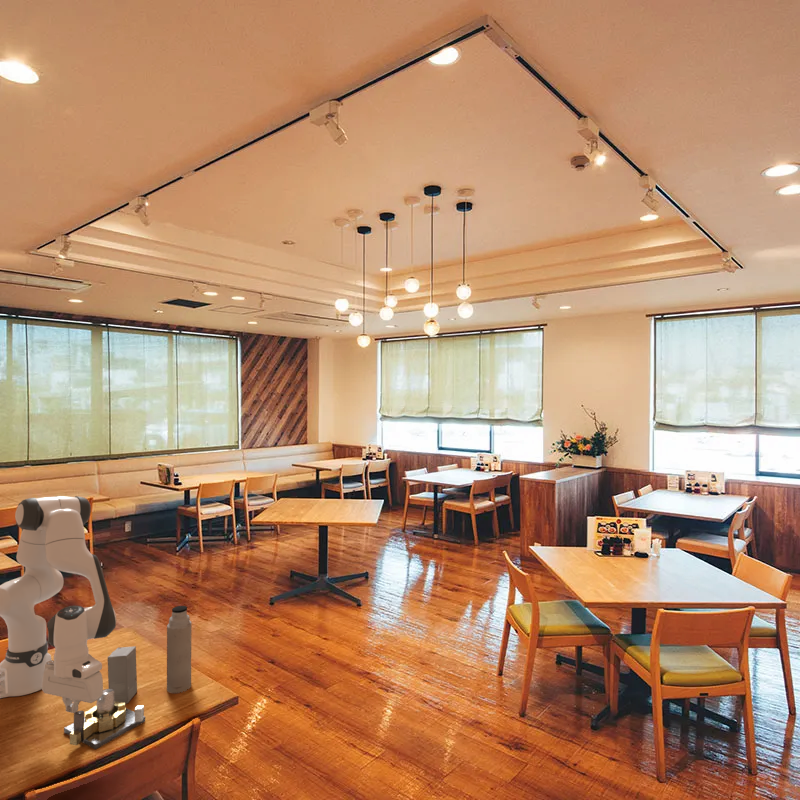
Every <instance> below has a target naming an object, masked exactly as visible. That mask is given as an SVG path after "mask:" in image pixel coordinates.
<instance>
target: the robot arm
mask: <svg viewBox="0 0 800 800" xmlns="http://www.w3.org/2000/svg"><path fill="white" fill-rule="evenodd" d="M91 506H92V505H91V502H90V501H89V499H88V498H86V497H83V496H77V495H76V496H69V495H68V496H67V495H65V496H64V495H56V496H42V497H29V498H25V499H22V500H21V501H20V502H19V503H18V505H17V506H16V510H15V514H14V515H15V517H14V518H15V521H16V522H15V523H16V526H18V528H20V529H21V530H22V531H21V532H20V533H21V534H20V538H19V541H18V547H17V552H16V561H17V563H18V564H19V565H21V566H22V567H24V569H25V571H24V573H23V575H22V576H19V577H17V578H14V579H10V580H9V581H5V582H3V583H2V584H0V618H2V619H3V620H4V623H5V624H6V626H7V627H6V628H7V639H8V644H7V645H8V647H6V648H5V657H4V659H3V660H2V661H1V662H0V699H3V698H8V697H20V696H26V695H29V694H32V693H35V692H38V691H40V690H42V692H43V693H44V694H45V695H46V694H47V695H52V696H57V697H61V698H62V699H61V700H62V702H63V704H64V706H65V712H68V713H72V714H74V713H75V712H77V711H79V705H80V703H81V702H84V703H90V704H92V703H94V702H97V700H98V699H99V698H100V697H101V696H102V694H103V690H104V683H103V682H104V681H103V674H102V672H101V670H102V669H103V663H102V662H101V661H100V660H98V659H96V658H95V657H94V656H93V655H92V654H90V652H89V647H88V640H93V639H94V640H96V639H103V638H107V637H108V636H109V635H110V634H111V633H112V632H113V631H114V630H115V628H116V625H117V613H116V611H115V609H114V606H113V604H112V601H111V599H110V594H109V591H108V586H107V584H106V583H107V582H106V580H105V575H104V571H103V568H102V566H101V562H100V560H99V558H98V556H97V555H96V554H94V553H91V552H90V551H89V549H88V547H87V545H86V534H85V527H84V525H85V524H86V523H88V521H89V519H90V517H91V514H92V513H91V512H92V508H91ZM61 572H63V573H68V574H74V575H79V576H82V577H85V578H86V579H87V580H88V581H89V583H90V587H91V591H92V593H93V594H92V595H93V599H94V602H95V604H93V605H92V606H88V607H83V606H81V605H69V606H65V607H63V608H61V609H59V610H58V611H57V612H56V614H54V615H53V616H52V617H51V618H50V619H49V620H48V621H47V622H46V618H44V617H43V616H40V615H38V614H36V612H35V606H36V605H37V604H40V603H42V602H44V601H47V600H49V599H51V598H52V597H54V596H55V595H57V594H58V593H59V592H60V591H61V590H62V589H63V586H64V583H65V582H64V576H63V574H62V573H61ZM47 634H48V635H47ZM49 645H50V646H51V647H54V654H53V659H52V655H51V654H50V653H49V652H48V651H49V649H48V648H49Z"/></svg>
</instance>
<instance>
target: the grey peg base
mask: <svg viewBox="0 0 800 800" xmlns="http://www.w3.org/2000/svg"><path fill="white" fill-rule="evenodd" d="M96 706H97V718H100V719H101V718H103V715H104V714H108V713H109V716H112V715H113V714H114V690H113V689H109V688H106V689H103V694H102V696H101V697H100V698H99V699H98V700H96ZM125 708H126V719H125V721H123V722H122V723H121V724H120V725H118V726H117V727H113V729H110V730H106V731H102V732H99V731H98V732H97V733H96V732H94V733H93V734H91V735H90V736H89V737H87V738H86V739H85V740H83V741H82V742H81V743H83V744H84V745H85V746H86V745H87V746H88V747H90V748H91V749H94V750H97V749H99V748H101V747H103V746H104V745H106V744H108V743H110V742H112V741H114V740H115V739H117V738H119V737H120V736H122V735H124V734H126V733H127V732H130V731H131V730H133V729H134V728H137V726H140V725H141V724H143V723H146V716H145V715H144V714H145V705H143V704H142V705H136V706H135V708H134V711H133V710H131V709H129V708H127V707H125ZM84 723H85V717H84ZM73 731H74V722H73V723H71V724H69V725H67V726H64V728H63V733H64V735H65V734H66V735H67V736H69V737H70V733H71V732H73Z"/></svg>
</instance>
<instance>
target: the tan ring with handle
mask: <svg viewBox="0 0 800 800" xmlns="http://www.w3.org/2000/svg"><path fill="white" fill-rule="evenodd" d="M126 708H127V707H126V703H125V702H123V703H122V702H116V701H114V714H113V715H112V716H109V713H108V714H104V715H103V718H101V719H100V718H97V705H94V706H93V707H91V708H89V709H88V710H87V711H85V710H78V711H77V712H75V713H73V723H74V731H73V732H71V733H70V736H69V745H73V746H78V745H79V744H81V743H82V741H83V740H85V739H86V738H87V737H89V736H90V735H91V734H93V733H94V732H96V733H97V732H98V731H99V732H102V731H106V730H110V729H113V727H117V726H118V725H120V724H121V723H122V722H123V721H125V719H126ZM84 718H85V723H84Z"/></svg>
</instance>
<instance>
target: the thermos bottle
mask: <svg viewBox="0 0 800 800" xmlns="http://www.w3.org/2000/svg"><path fill="white" fill-rule="evenodd" d="M187 610H188V606H186V605H177V606H174V607H172V608H171V616H170V617H169V619H168V624H167V625H166V690H167V692H168V693H170V694H181V693H184V692H186V691H188V690H189V689H190V688H191V687H192V621H191V620H190V618H191V617H190V615H189V614H188V613H187V612H188V611H187ZM187 689H188V690H187ZM183 691H184V692H183ZM180 692H181V693H180Z"/></svg>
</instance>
